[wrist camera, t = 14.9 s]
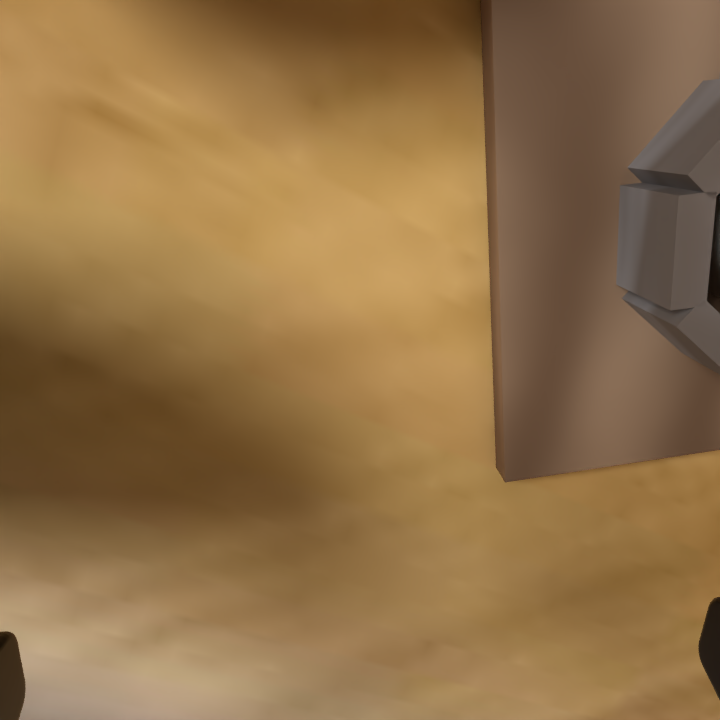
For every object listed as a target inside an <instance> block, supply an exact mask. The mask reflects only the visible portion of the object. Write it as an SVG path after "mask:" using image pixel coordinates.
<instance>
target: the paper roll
mask: <svg viewBox="0 0 720 720" xmlns="http://www.w3.org/2000/svg"><path fill="white" fill-rule="evenodd" d="M708 293H710V294H712V295H715V296H717V297H720V193H719V194H718V195H717V196H716V206H715V217H714V228H713V239H712V249H711V260H710V271H709V282H708Z"/></svg>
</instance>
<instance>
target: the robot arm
mask: <svg viewBox="0 0 720 720" xmlns="http://www.w3.org/2000/svg"><path fill="white" fill-rule="evenodd" d="M699 656H700V660H701V663H702V665H703V667H704V669H705V671H706V673H707V675H708V677H709V679H710V681H711V683H712V685H713V687H714V690H715V692H716V694H717V696H718V698H719V700H720V597H717V598H714V599H713V600H712V602H711V603H710V605H709V607H708V611H707V614H706V618H705V622H704V625H703V629H702V633H701V636H700V640H699ZM24 698H25V678H24V673H23V668H22V663H21V658H20V652H19V647H18V642H17V639H16V637H15V635H14V634H13V633H11V632H7V631H6V632H0V720H19V717H20V713H21V710H22V707H23V703H24Z"/></svg>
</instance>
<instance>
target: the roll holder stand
mask: <svg viewBox="0 0 720 720" xmlns="http://www.w3.org/2000/svg"><path fill="white" fill-rule="evenodd" d="M481 28H482V58H483V87H484V117H485V147H486V177H487V207H488V237H489V267H490V297H491V327H492V357H493V386H494V416H495V446H496V468H497V470H498V471H499V473H500V475H501V476H502V478H503V480H504V481H505V482H510V481H517V480H523V479H530V478H536V477H543V476H550V475H556V474H563V473H569V472H576V471H583V470H589V469H596V468H602V467H609V466H616V465H622V464H629V463H635V462H642V461H649V460H655V459H662V458H668V457H675V456H682V455H688V454H695V453H701V452H708V451H715V450H720V297H717V296H715V295H712V294H710V293H708V282H709V271H710V260H711V249H712V239H713V228H714V217H715V206H716V196H717V195H718V194H719V193H720V0H481Z"/></svg>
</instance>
